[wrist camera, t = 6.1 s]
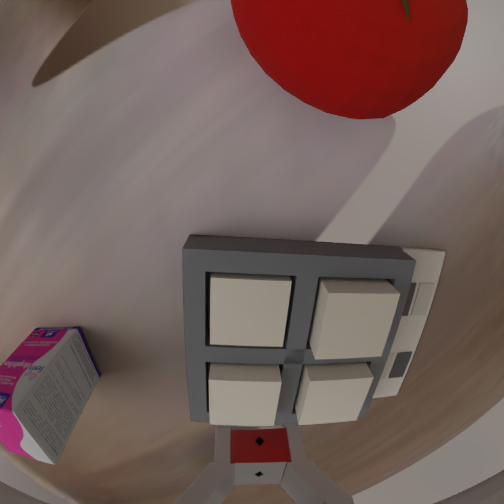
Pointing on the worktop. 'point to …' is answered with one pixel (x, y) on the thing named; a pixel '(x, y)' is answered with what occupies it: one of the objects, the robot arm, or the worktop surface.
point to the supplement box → (45, 391)
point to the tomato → (353, 49)
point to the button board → (303, 308)
